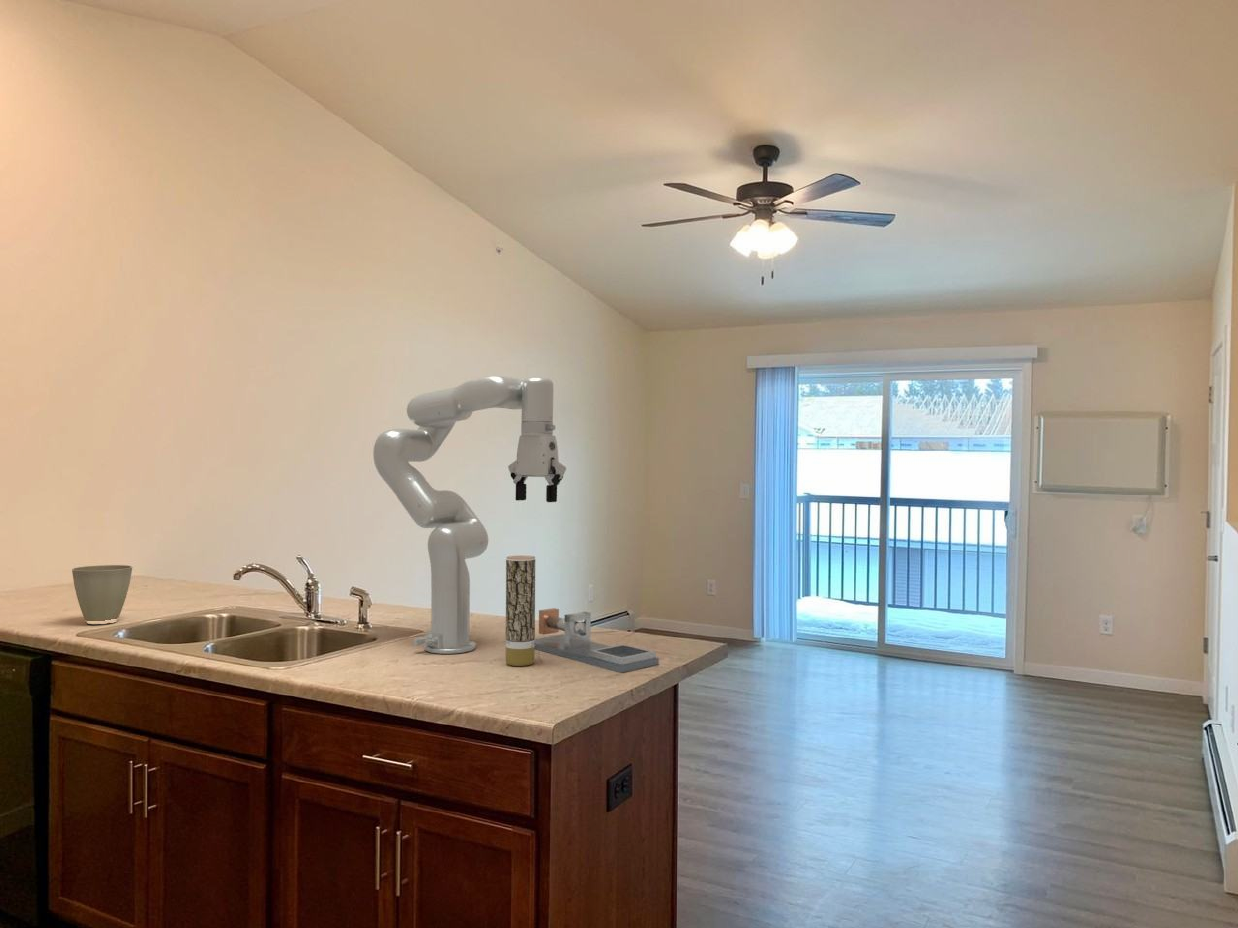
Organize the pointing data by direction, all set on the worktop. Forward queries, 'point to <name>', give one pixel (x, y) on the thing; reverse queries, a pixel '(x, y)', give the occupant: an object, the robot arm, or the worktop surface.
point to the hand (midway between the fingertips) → (535, 501)
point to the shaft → (556, 622)
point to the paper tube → (520, 610)
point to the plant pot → (101, 590)
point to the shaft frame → (595, 648)
